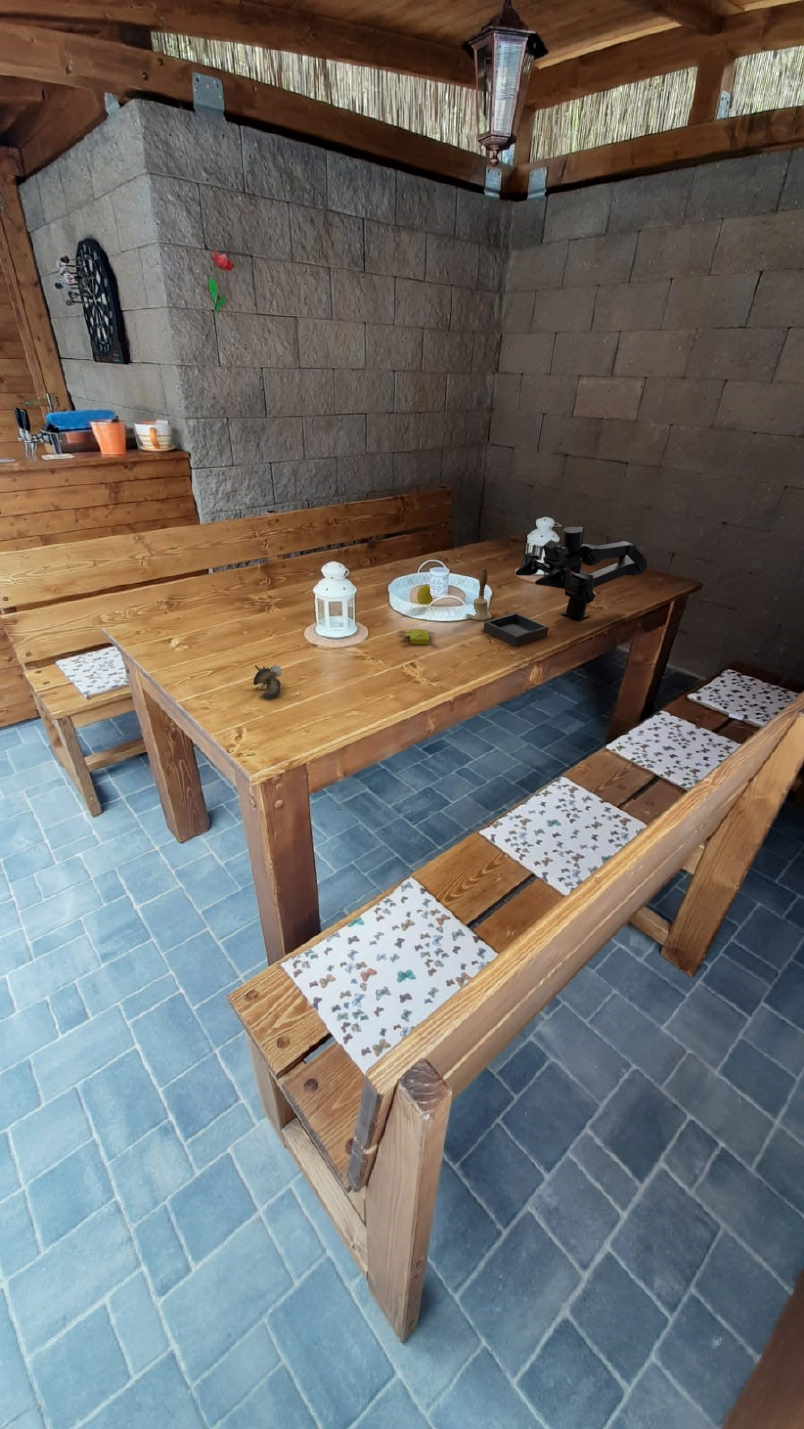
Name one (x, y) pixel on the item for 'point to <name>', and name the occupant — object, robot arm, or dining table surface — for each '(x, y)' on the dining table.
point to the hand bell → (481, 600)
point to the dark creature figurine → (268, 680)
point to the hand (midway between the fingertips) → (525, 578)
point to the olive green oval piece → (424, 595)
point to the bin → (515, 629)
